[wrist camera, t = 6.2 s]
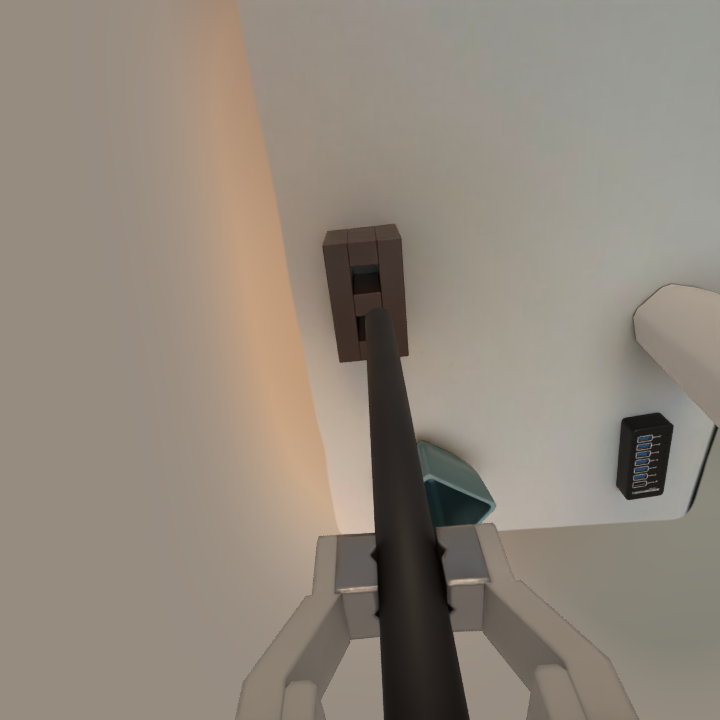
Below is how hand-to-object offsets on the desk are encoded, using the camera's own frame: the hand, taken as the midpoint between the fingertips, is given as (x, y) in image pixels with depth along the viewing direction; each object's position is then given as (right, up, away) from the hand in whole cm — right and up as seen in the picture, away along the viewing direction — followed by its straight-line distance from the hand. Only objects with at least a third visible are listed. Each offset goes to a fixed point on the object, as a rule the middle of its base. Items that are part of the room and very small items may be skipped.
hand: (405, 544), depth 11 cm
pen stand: (0, +12, +31) cm, 33 cm away
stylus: (0, +7, +14) cm, 16 cm away
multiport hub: (+33, -6, +41) cm, 53 cm away
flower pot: (+7, -7, +42) cm, 43 cm away
